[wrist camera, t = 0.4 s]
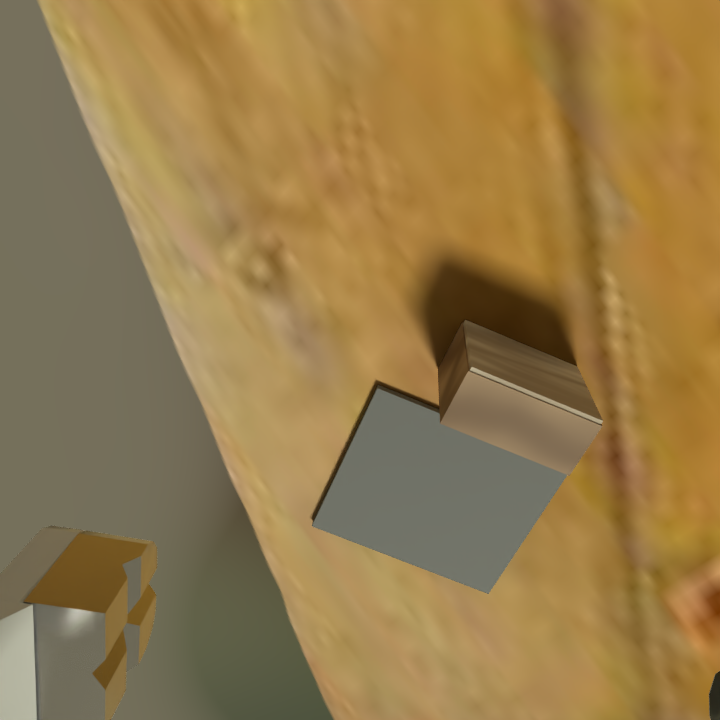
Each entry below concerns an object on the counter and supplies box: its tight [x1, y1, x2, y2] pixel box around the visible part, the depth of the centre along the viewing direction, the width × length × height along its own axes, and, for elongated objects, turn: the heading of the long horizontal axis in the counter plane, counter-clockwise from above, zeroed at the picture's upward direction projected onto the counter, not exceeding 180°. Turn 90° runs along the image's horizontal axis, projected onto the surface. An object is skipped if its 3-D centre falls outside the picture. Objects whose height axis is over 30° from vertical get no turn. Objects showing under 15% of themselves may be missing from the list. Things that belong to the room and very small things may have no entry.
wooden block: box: [438, 320, 603, 475], centre depth 45 cm, size 4×9×8 cm, turn 68°
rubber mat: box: [312, 385, 567, 594], centre depth 54 cm, size 14×16×1 cm
